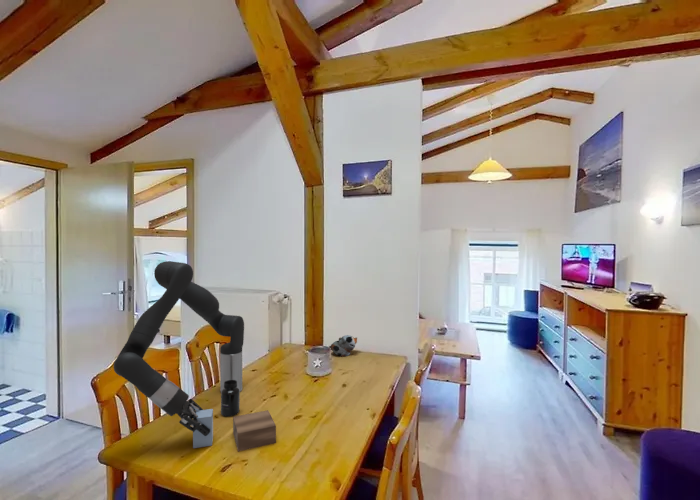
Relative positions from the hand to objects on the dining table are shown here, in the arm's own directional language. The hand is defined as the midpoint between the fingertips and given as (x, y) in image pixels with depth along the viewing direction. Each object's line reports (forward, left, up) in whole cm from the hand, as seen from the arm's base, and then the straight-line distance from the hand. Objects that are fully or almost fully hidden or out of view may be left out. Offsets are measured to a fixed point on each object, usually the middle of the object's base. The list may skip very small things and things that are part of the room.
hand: (209, 428), depth 120 cm
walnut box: (+2, +14, -5) cm, 15 cm away
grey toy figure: (-78, +68, -5) cm, 104 cm away
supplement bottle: (-19, +6, -5) cm, 20 cm away
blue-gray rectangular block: (0, -2, -4) cm, 5 cm away
